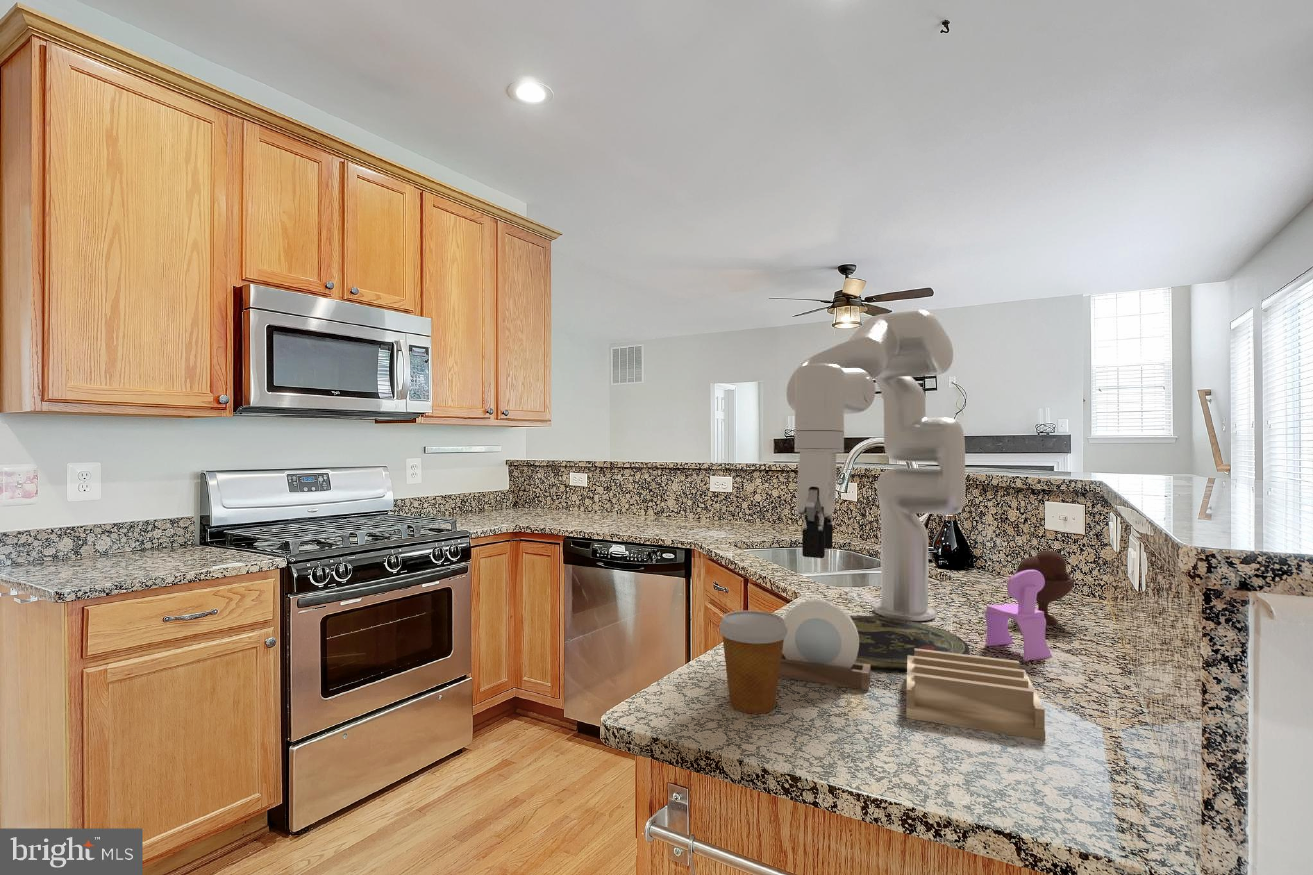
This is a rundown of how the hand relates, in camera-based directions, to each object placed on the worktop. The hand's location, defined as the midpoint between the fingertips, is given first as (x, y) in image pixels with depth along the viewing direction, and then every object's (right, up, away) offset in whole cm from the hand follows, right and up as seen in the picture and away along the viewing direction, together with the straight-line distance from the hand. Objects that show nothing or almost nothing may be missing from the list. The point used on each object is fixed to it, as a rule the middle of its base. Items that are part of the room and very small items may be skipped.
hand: (818, 552), depth 98 cm
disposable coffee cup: (-12, -20, -10) cm, 25 cm away
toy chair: (+39, -20, +14) cm, 46 cm away
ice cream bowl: (+56, -21, +33) cm, 68 cm away
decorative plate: (+16, -21, +17) cm, 31 cm away
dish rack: (+19, -20, -10) cm, 29 cm away
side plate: (0, -14, 0) cm, 14 cm away
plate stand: (0, -20, 0) cm, 20 cm away
